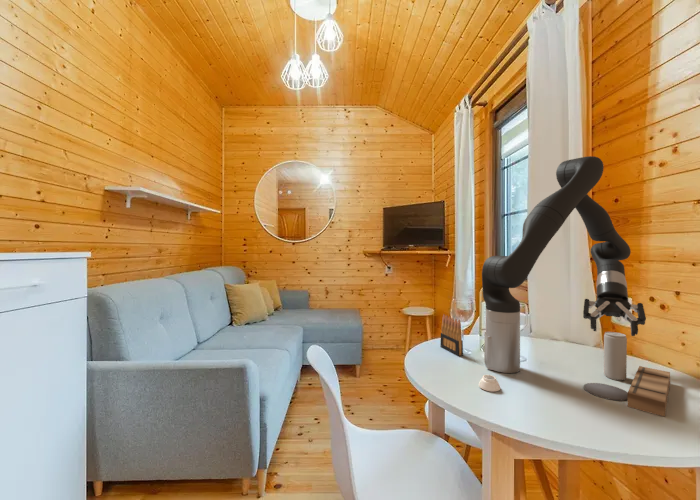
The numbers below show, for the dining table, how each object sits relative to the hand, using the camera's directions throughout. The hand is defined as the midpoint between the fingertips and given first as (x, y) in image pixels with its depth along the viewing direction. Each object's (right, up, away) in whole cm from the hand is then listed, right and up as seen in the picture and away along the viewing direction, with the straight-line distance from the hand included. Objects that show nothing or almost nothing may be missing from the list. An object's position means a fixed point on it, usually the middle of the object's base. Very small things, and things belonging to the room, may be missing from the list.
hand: (613, 332), depth 92 cm
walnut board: (-3, -11, -14) cm, 18 cm away
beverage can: (-3, -12, -4) cm, 13 cm away
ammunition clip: (-41, -12, +18) cm, 46 cm away
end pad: (-13, -11, -13) cm, 22 cm away
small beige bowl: (-40, -12, -11) cm, 44 cm away
